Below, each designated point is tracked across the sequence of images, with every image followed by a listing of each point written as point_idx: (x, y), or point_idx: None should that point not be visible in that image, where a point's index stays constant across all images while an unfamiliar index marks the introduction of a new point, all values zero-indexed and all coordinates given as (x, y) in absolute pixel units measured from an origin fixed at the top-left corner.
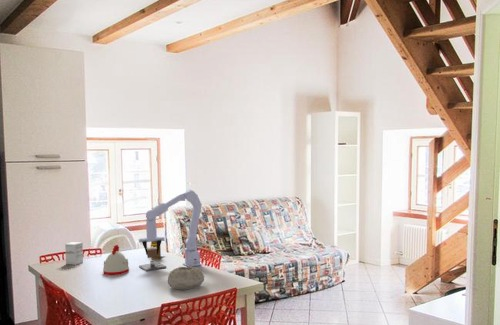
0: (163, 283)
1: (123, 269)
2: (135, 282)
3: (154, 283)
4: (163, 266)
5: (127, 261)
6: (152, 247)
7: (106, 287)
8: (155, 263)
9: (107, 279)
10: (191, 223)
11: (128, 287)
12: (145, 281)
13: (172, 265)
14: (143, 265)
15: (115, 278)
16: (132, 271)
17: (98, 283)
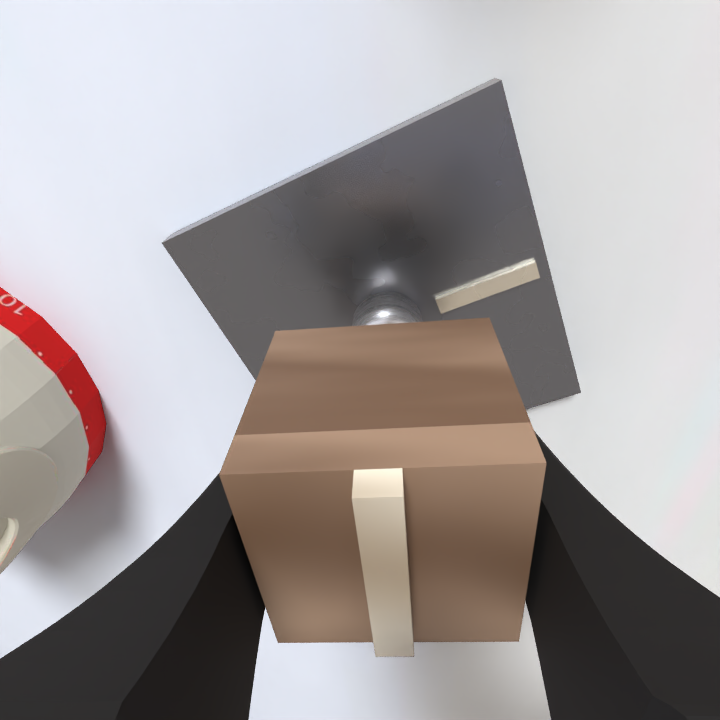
0: (472, 707)
1: (60, 507)
2: (282, 665)
3: (414, 698)
4: (540, 396)
5: (13, 496)
6: (406, 637)
7: None
8: (434, 173)
9: (26, 581)
10: None
11: (260, 713)
12: (350, 664)
13: (701, 263)
14: (237, 265)
15: (83, 574)
16: (154, 420)
17: (15, 634)
